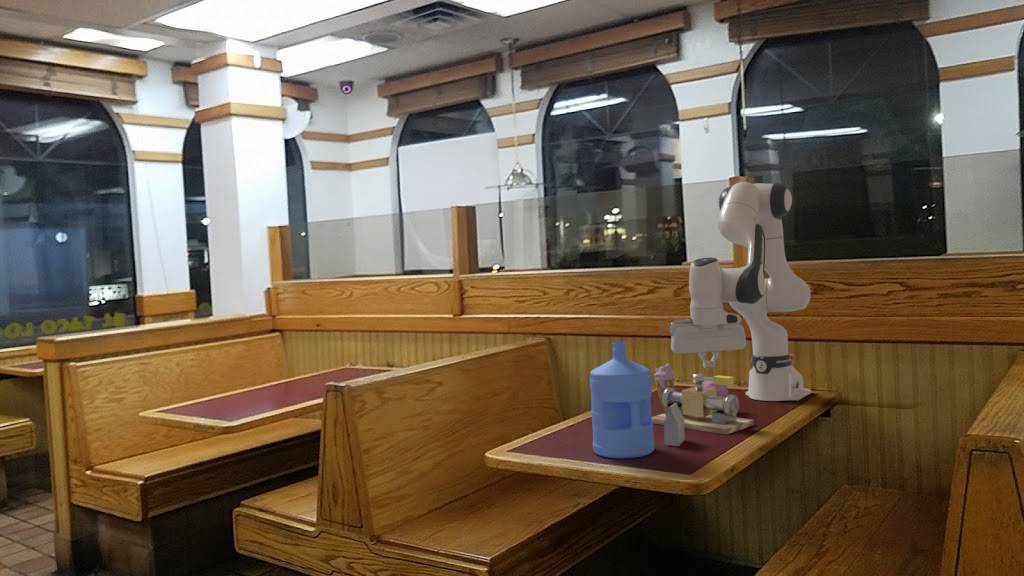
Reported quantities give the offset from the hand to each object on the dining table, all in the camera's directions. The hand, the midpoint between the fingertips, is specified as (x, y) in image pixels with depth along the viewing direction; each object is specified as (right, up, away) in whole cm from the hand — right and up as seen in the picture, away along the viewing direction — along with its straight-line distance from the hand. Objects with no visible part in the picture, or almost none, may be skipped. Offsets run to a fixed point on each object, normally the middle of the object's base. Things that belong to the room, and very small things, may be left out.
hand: (709, 367), depth 229 cm
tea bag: (-11, -19, -9) cm, 24 cm away
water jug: (-26, -20, -16) cm, 36 cm away
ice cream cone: (-6, -17, +31) cm, 36 cm away
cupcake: (+8, -16, +26) cm, 32 cm away
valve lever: (+3, -5, +7) cm, 9 cm away
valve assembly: (0, -17, +11) cm, 20 cm away
